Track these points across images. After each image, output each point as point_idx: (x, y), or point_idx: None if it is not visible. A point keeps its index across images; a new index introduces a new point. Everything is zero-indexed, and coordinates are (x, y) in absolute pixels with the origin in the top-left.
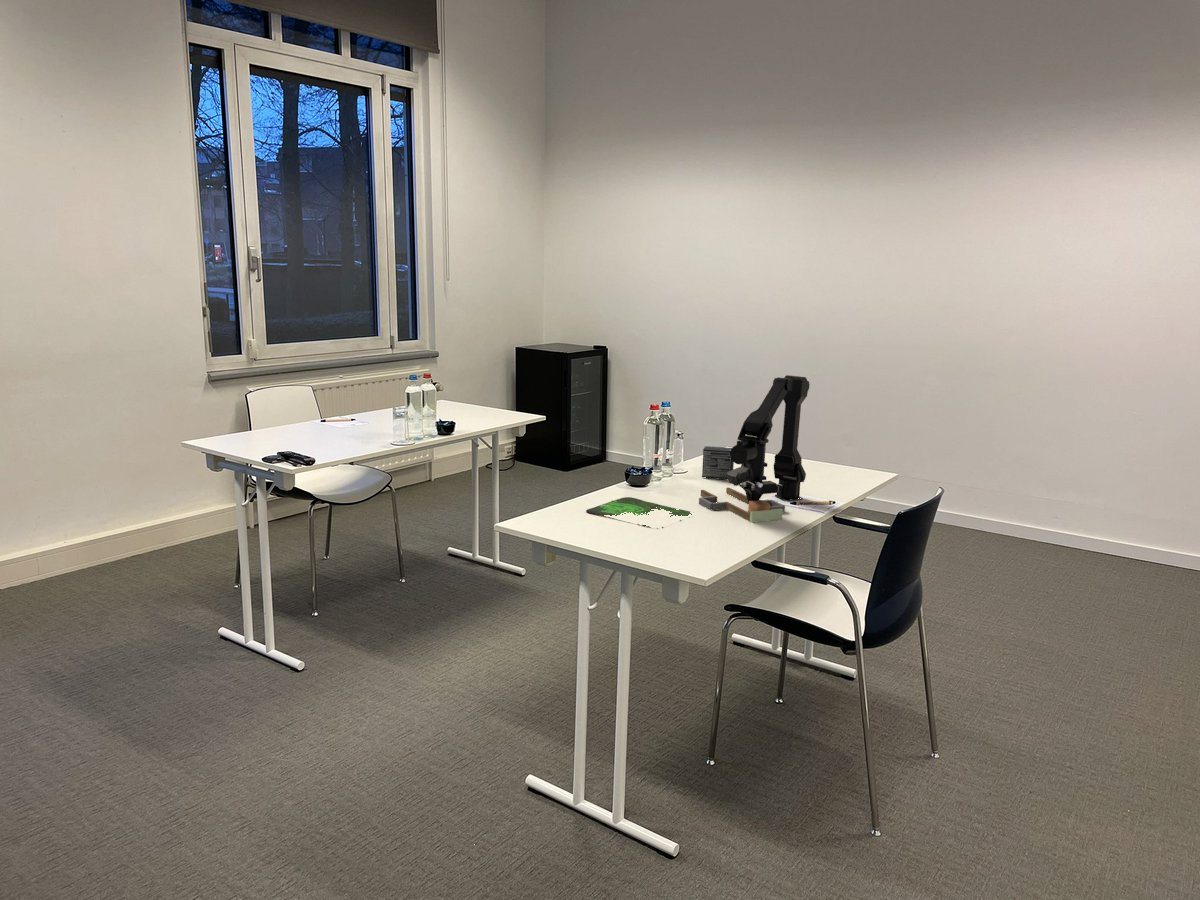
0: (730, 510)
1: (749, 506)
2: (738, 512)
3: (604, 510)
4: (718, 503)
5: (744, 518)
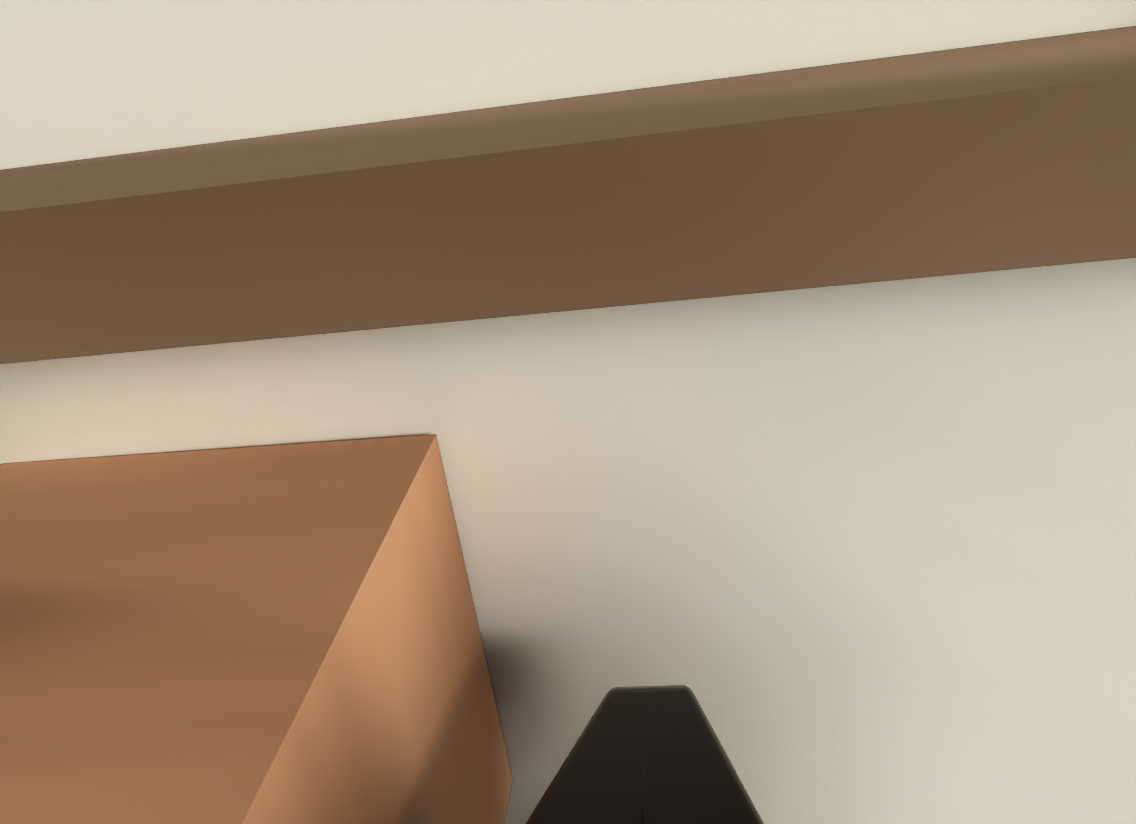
0: (1132, 35)
1: (256, 656)
2: (443, 128)
3: None
4: None
5: (65, 165)
